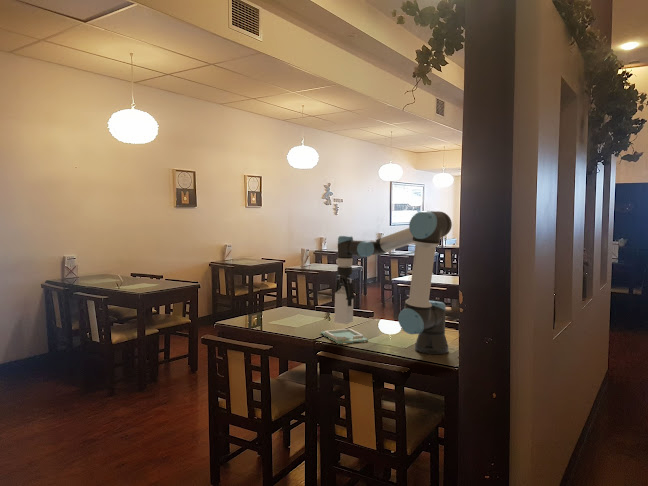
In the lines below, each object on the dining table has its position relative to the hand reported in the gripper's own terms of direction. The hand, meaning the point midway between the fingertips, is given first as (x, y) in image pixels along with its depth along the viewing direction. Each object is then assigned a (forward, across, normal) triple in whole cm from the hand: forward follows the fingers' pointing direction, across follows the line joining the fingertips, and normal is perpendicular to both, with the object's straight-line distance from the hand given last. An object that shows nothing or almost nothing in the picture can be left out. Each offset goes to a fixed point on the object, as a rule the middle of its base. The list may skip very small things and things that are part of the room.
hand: (343, 310), depth 236 cm
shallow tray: (+14, 0, 0) cm, 14 cm away
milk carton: (+6, 0, 0) cm, 6 cm away
